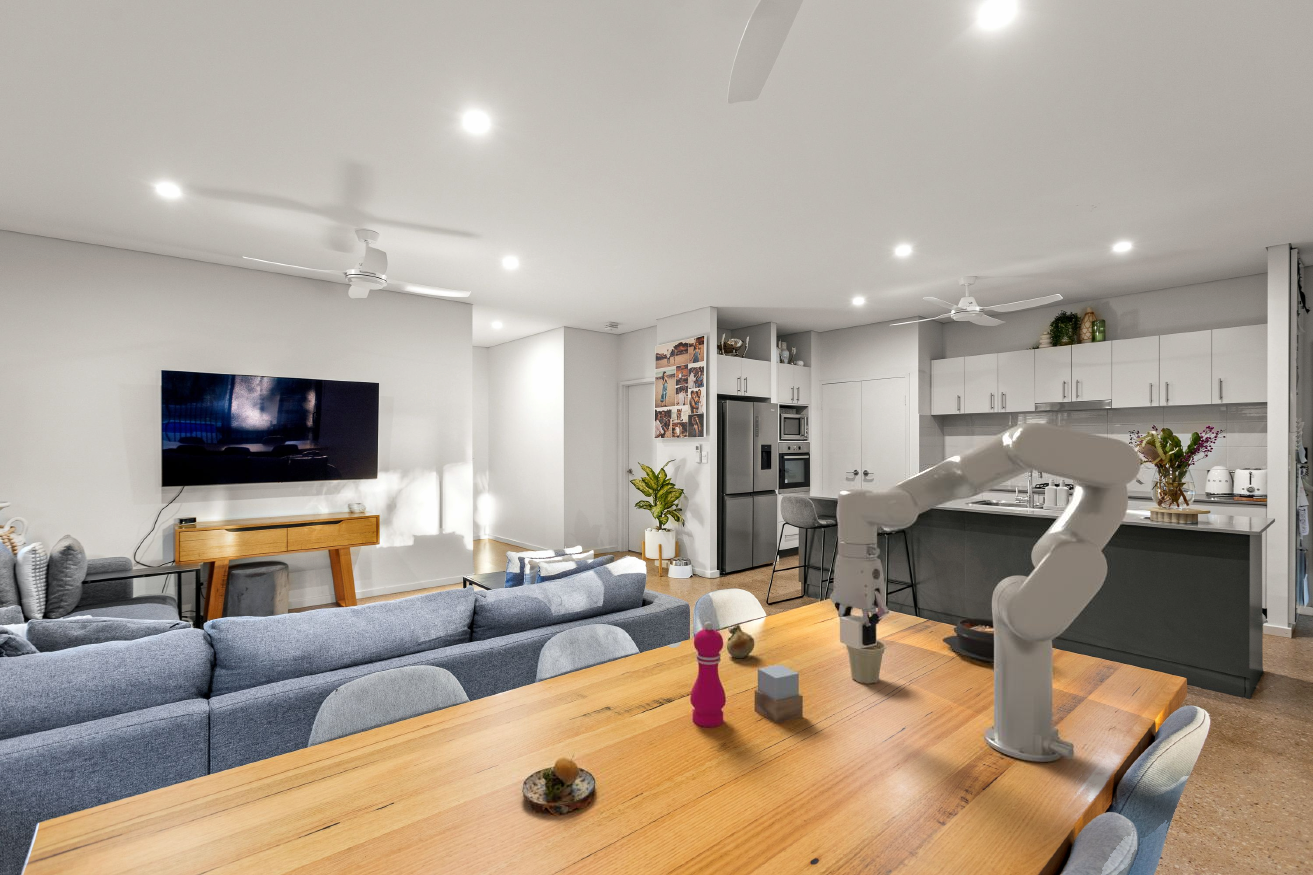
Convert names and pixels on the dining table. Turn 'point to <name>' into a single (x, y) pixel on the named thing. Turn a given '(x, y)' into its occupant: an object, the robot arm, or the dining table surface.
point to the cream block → (853, 631)
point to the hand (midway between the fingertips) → (858, 639)
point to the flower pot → (866, 662)
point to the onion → (739, 643)
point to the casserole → (974, 639)
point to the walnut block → (779, 707)
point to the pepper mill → (708, 679)
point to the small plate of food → (559, 788)
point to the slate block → (778, 682)
